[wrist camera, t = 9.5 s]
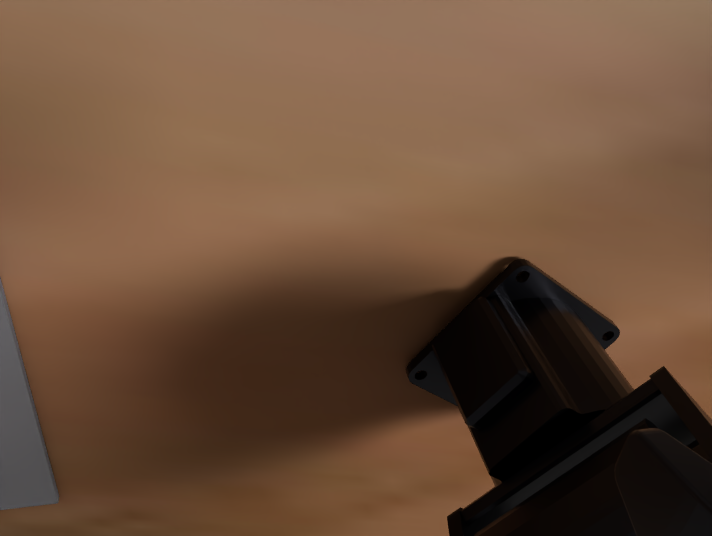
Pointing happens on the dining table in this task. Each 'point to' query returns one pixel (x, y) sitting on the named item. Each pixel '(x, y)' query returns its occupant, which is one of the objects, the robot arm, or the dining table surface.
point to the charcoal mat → (20, 429)
